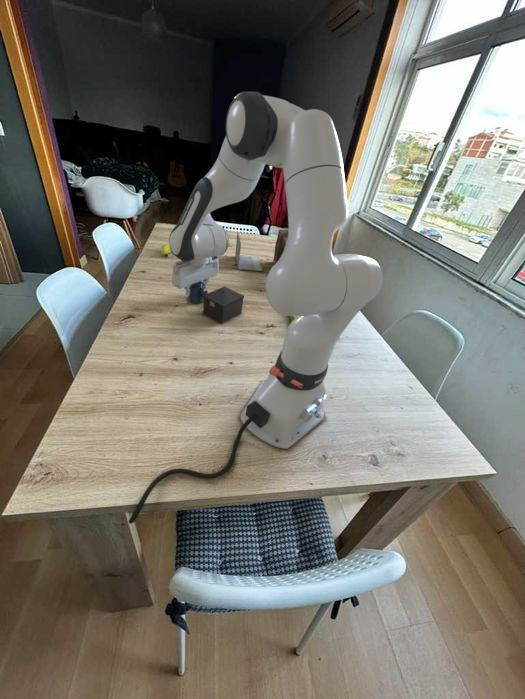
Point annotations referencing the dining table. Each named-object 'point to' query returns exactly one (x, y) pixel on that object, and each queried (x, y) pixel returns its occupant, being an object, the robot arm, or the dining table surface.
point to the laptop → (246, 259)
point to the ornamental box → (280, 244)
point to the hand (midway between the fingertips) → (196, 291)
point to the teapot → (197, 293)
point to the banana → (165, 250)
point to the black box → (222, 304)
